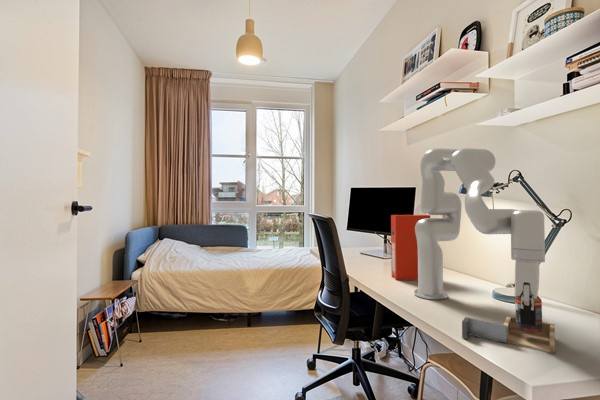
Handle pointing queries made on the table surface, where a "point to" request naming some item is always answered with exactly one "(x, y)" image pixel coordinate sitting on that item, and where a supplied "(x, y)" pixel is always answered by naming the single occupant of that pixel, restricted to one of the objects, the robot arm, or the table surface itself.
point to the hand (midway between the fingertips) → (528, 320)
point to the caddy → (531, 336)
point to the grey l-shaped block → (484, 329)
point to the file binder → (404, 246)
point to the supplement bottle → (538, 316)
